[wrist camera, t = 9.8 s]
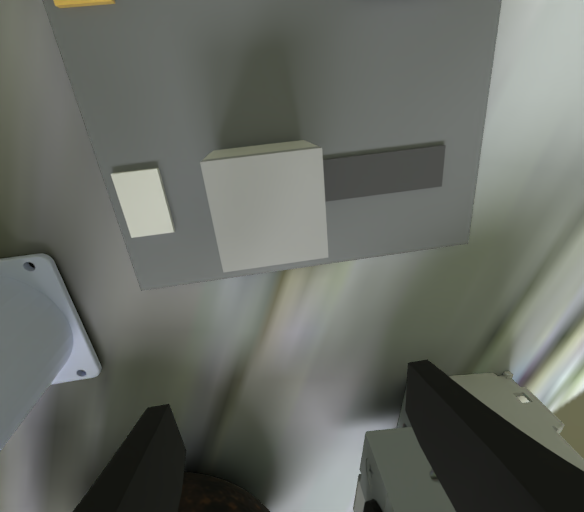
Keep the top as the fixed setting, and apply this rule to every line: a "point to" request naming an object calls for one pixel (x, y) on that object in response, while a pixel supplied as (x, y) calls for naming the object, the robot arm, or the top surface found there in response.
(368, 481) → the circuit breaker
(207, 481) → the glass bottle
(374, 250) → the switch console
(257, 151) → the slider
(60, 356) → the robot arm
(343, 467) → the top surface
